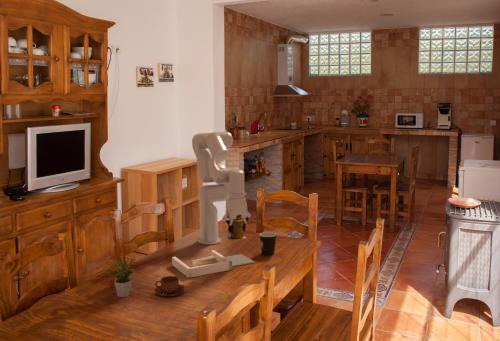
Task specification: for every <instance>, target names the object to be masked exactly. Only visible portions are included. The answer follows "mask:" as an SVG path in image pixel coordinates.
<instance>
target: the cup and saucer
mask: <svg viewBox="0 0 500 341" xmlns="http://www.w3.org/2000/svg"><path fill="white" fill-rule="evenodd" d="M158 283H160V285H159V286H158V285H157V284H158ZM154 286H155V287H156V288H155V292H156V294H157V295H159V296H160V297H161V296H162V297H175V296H178V295H181V294H182V293H183V292H184V291H185V286H184V285H182V284H180V282H179V277H178V276H175V275H168V276H163V277H161V279H160V280H156V281H155V283H154ZM163 293H164V294H163Z"/></svg>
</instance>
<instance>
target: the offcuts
mask: <svg viewBox="0 0 500 341" xmlns="http://www.w3.org/2000/svg"><path fill="white" fill-rule="evenodd" d="M213 263H218V260H216V257H214V256H211V255H209V256H206V257H201V258H197V259H191V260H190V265H191V267H197V266H202V265H208V264H213Z"/></svg>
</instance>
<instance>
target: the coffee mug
mask: <svg viewBox="0 0 500 341" xmlns="http://www.w3.org/2000/svg"><path fill="white" fill-rule="evenodd" d="M276 240H277V233H275V232H269V231H267V232H266V231H265V232H260V234H259V242H260V250H261V255H264V256H273V255H274V254H275V250H276V249H275V248H276V243H277V242H276Z"/></svg>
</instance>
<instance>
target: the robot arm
mask: <svg viewBox="0 0 500 341" xmlns="http://www.w3.org/2000/svg"><path fill="white" fill-rule="evenodd" d="M191 144H192V151H193V153H194V156H195V158H196V164H197V173H198V178H199V181H200V182H201V183H202V184H203V183H204V184H206V183H207V184H206V185H202V186H200V187H199V188H198V190H197V196H198V200H199V213H200V214H199V215H200V217H199V220H200V233H199V234H200V238H198V240H197V243H198V244H200V245H208V246H210V245H217V244H219V243H221V241H222V239H221V238H220V237H219V220H218V218H219V216H218V208H217V207H216V205H214V203H219V202H225V201H226V203H225V204H226V205H225V214H224V215H223V216H222V218H221V219H222V220H223V221H224V222H225V224H227V227H228V228H227V229H228V233H229V234H230V235H231V234H232V233H233V225H232V223H233V220H234V219H236V216H237V215H242V219H243V233H244V232H246V228H247V227H246V226H247V225H246V224H247V223H248V220H250V218H251V216H252V214H251V213H250V212H249V211H248V204H247V199H246V197H245V196H247V194H248V193H247V192H246V191H245V172H244V171H243V170H241V169H239V168H238V167H226V166H225V165H223V164H221V163H223V162H225V161H226V160H227V159H228V157H229V151H228V149H227V148H231V147H232V146H233V144H234V137H233V136H232V133H230V132H228V131H213V132H200V133H197V134H194V135H193V136H192V139H191ZM207 149H208V150H207ZM209 183H216V184H209Z"/></svg>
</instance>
